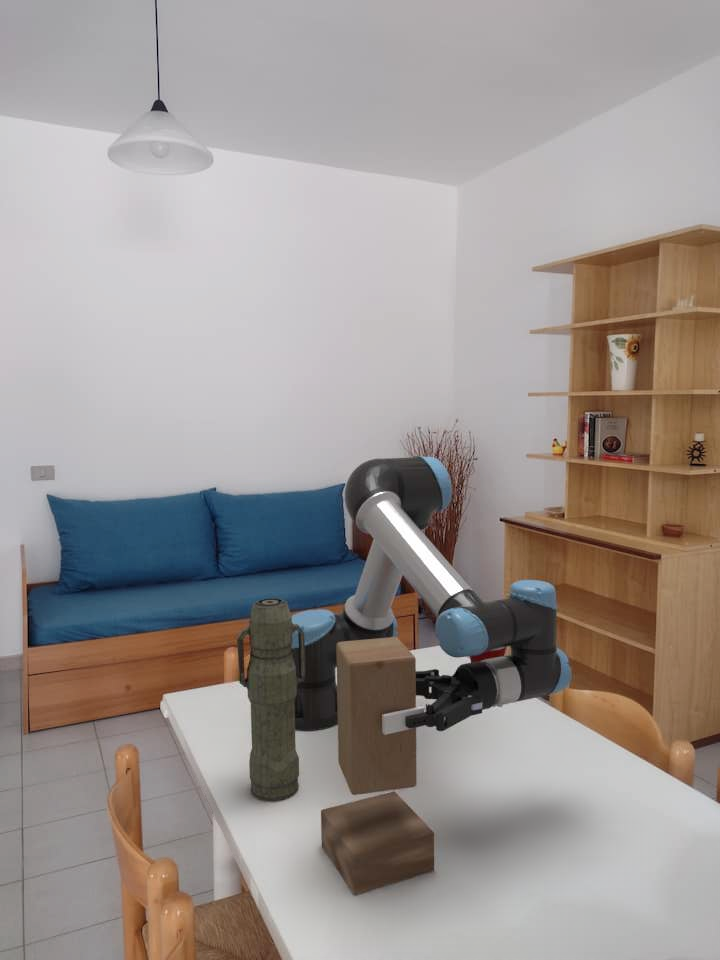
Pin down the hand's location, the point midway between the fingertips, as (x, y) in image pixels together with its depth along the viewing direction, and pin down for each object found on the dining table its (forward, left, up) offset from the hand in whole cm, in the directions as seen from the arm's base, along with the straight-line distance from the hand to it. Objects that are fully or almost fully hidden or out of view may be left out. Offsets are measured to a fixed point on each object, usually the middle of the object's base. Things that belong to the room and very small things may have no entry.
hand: (364, 709), depth 108 cm
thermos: (-26, -6, -24) cm, 36 cm away
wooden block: (0, +2, -11) cm, 11 cm away
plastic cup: (-51, +57, -24) cm, 80 cm away
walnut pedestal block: (0, +2, -24) cm, 24 cm away
